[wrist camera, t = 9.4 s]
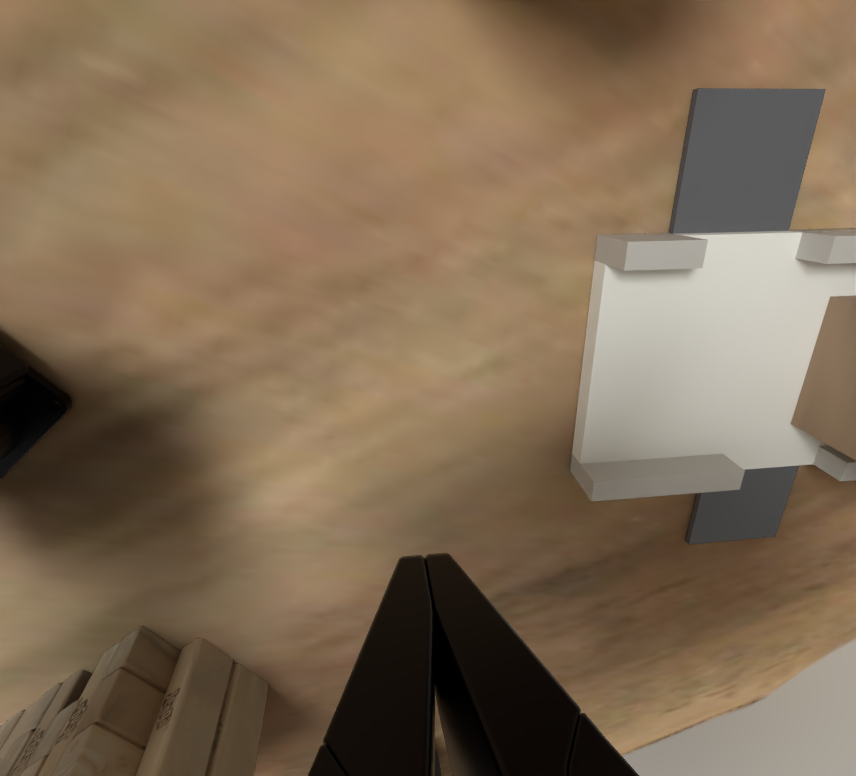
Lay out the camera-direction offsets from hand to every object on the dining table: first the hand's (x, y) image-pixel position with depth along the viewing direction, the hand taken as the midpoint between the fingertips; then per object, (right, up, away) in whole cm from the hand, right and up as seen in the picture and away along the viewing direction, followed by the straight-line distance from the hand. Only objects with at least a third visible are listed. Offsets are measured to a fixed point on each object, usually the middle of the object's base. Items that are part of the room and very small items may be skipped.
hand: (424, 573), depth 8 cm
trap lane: (+18, +5, +14) cm, 23 cm away
